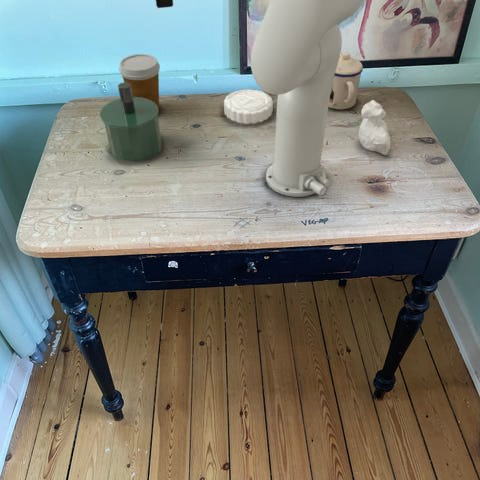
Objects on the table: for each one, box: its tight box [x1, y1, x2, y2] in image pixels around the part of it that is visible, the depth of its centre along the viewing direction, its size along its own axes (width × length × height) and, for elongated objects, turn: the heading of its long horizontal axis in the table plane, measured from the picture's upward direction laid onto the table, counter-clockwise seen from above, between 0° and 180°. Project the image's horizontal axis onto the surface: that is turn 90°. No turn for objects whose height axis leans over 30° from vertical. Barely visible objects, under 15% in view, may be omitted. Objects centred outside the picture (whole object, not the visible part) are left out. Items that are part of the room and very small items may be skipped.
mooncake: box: [223, 88, 274, 125], centre depth 120 cm, size 12×12×4 cm
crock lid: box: [99, 82, 160, 129], centre depth 103 cm, size 12×12×7 cm
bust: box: [358, 99, 391, 156], centre depth 108 cm, size 12×8×11 cm
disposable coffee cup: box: [118, 53, 161, 111], centre depth 118 cm, size 10×10×12 cm
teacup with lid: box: [328, 51, 364, 110], centre depth 120 cm, size 12×9×12 cm
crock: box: [104, 115, 163, 163], centre depth 109 cm, size 11×11×8 cm
